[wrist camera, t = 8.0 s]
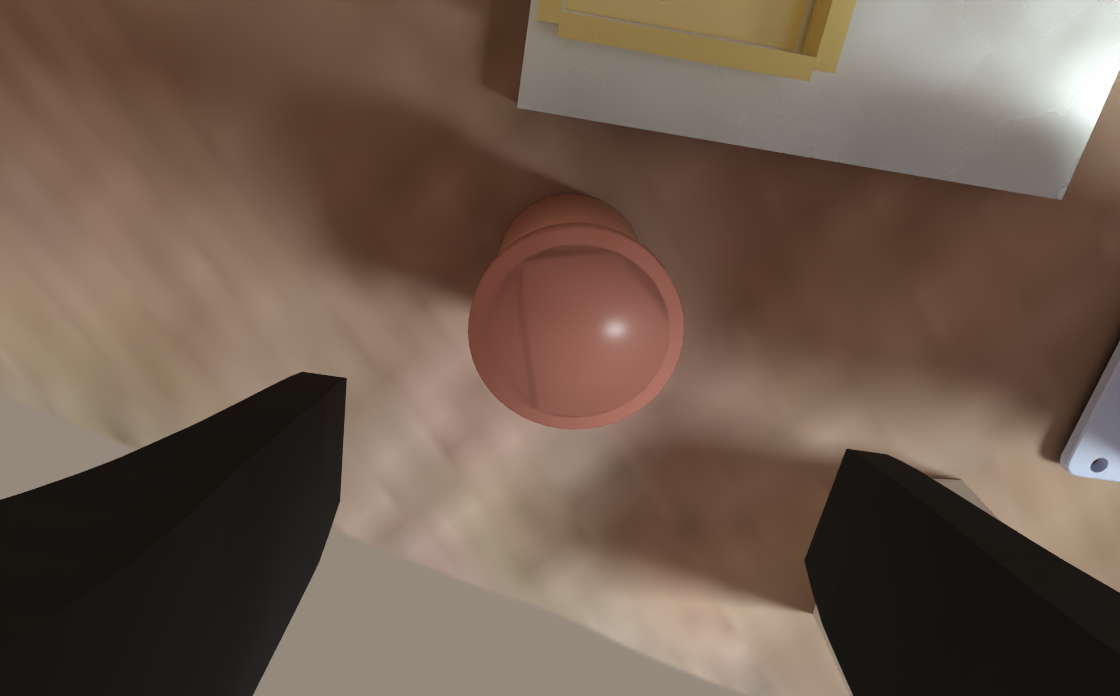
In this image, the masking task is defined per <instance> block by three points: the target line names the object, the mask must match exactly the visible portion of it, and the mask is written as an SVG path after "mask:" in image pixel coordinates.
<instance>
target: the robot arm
mask: <svg viewBox="0 0 1120 696" xmlns="http://www.w3.org/2000/svg"><path fill="white" fill-rule="evenodd" d="M346 381H347V378H342V377H335V376H328V375H321V374H314V373H307V372H300V373H298V374H295V375H293V376H290V377H288V378H286V379H284V380H282V381H280V382H278V383H276V384H274V385H272V386H270V387H268V388H266V389H264V390H262V391H260V392H258V393H256V394H254V395H252V396H250V397H248V398H246V399H245V400H243V401H241V402H239V403H237V404H235V405H233V406H231V407H229V408H227V409H225V410H223V411H221V412H219V413H217V414H215V415H213V416H211V417H209V418H207V419H205V420H203V421H201V422H198V423H196V424H194V425H192V426H190V427H188V428H186V429H183V430H181V431H179V432H177V433H174V434H172V435H170V436H168V437H165V438H163V439H161V440H159V441H156V442H154V443H152V444H150V445H147V446H145V447H143V448H141V449H138V450H136V451H134V452H132V453H129V454H127V455H125V456H123V457H120V458H118V459H115V460H113V461H110V462H108V463H105V464H103V465H100V466H97V467H95V468H92V469H89V470H87V471H84V472H81V473H79V474H76V475H73V476H70V477H67V478H65V479H62V480H59V481H56V482H53V483H50V484H47V485H45V486H42V487H39V488H36V489H33V490H30V491H27V492H24V493H21V494H18V495H15V496H11V497H8V498H5V499H1V500H0V696H253V694H254V692H255V690H256V688H257V686H258V684H259V682H260V680H261V678H262V676H263V674H264V672H265V670H266V668H267V666H268V664H269V661H270V660H271V658H272V656H273V654H274V652H275V650H276V648H277V646H278V644H279V642H280V640H281V638H282V636H283V634H284V632H285V630H286V628H287V626H288V624H289V622H290V620H291V618H292V616H293V614H294V612H295V610H296V608H297V606H298V604H299V602H300V600H301V598H302V596H303V594H304V592H305V590H306V588H307V586H308V584H309V582H310V580H311V578H312V576H313V574H314V572H315V569H316V567H317V565H318V563H319V561H320V558H321V555H322V552H323V549H324V547H325V544H326V541H327V538H328V535H329V532H330V529H331V526H332V523H333V520H334V517H335V514H336V511H337V508H338V505H339V502H340V491H341V472H342V454H343V436H344V418H345V399H346ZM1098 458H1099V459H1098ZM1096 459H1098V460H1097V461H1096V463H1094V464H1092V463H1093V461H1094V460H1096ZM1060 464H1061V466H1062V467H1063V468H1064V469H1065V470H1066V471H1067V472H1069V473H1070V474H1072V475H1074V476H1080V477H1087V478H1094V479H1101V480H1109V481H1116V482H1120V341H1119V343H1118V345H1117V347H1116V349H1115V351H1114V353H1113V355H1112V357H1111V359H1110V361H1109V363H1108V365H1107V367H1106V369H1105V371H1104V372H1103V374H1102V376H1101V378H1100V380H1099V382H1098V384H1097V386H1096V388H1095V390H1094V392H1093V394H1092V396H1091V398H1090V400H1089V402H1088V404H1087V406H1086V408H1085V410H1084V412H1083V413H1082V415H1081V417H1080V419H1079V421H1078V423H1077V425H1076V427H1075V429H1074V431H1073V433H1072V435H1071V437H1070V439H1069V441H1068V443H1067V445H1066V447H1065V449H1064V451H1063V453H1062V454H1061V458H1060ZM1091 464H1092V465H1091ZM804 561H805V565H806V569H807V572H808V576H809V580H810V584H811V588H812V592H813V596H814V599H815V602H816V606H817V609H818V612H819V616H820V619H821V622H822V625H823V627H824V630H825V632H826V635H827V637H828V639H829V642H830V644H831V646H832V649H833V651H834V653H835V656H836V658H837V660H838V663H839V665H840V667H841V669H842V672H843V674H844V676H845V679H846V681H847V683H848V685H849V688H850V690H851V692H852V694H853V696H1120V593H1119V592H1117V591H1116V590H1114V589H1112V588H1110V587H1109V586H1107V585H1105V584H1104V583H1102V582H1100V581H1098V580H1097V579H1095V578H1093V577H1092V576H1090V575H1088V574H1086V573H1085V572H1083V571H1081V570H1079V569H1078V568H1076V567H1074V566H1073V565H1071V564H1069V563H1067V562H1066V561H1064V560H1062V559H1061V558H1059V557H1057V556H1056V555H1054V554H1053V553H1051V552H1049V551H1048V550H1046V549H1044V548H1043V547H1041V546H1039V545H1038V544H1036V543H1034V542H1033V541H1031V540H1030V539H1028V538H1026V537H1025V536H1023V535H1022V534H1020V533H1018V532H1017V531H1015V530H1014V529H1012V528H1010V527H1009V526H1007V525H1006V524H1004V523H1002V522H1001V521H999V520H998V519H996V518H995V517H993V516H991V515H990V514H988V513H987V512H985V511H983V510H982V509H980V508H979V507H977V506H976V505H974V504H972V503H971V502H969V501H968V500H966V499H964V498H963V497H961V496H960V495H958V494H956V493H955V492H953V491H952V490H950V489H949V488H947V487H945V486H944V485H942V484H940V483H939V482H937V481H935V480H934V479H932V478H930V477H929V476H927V475H925V474H924V473H922V472H920V471H918V470H917V469H915V468H913V467H911V466H909V465H908V464H906V463H904V462H902V461H900V460H898V459H896V458H893V457H891V456H889V455H887V454H880V453H873V452H866V451H859V450H852V449H846V452H845V454H844V457H843V460H842V462H841V465H840V468H839V470H838V473H837V476H836V478H835V481H834V484H833V486H832V489H831V491H830V494H829V497H828V499H827V502H826V505H825V507H824V510H823V513H822V515H821V518H820V521H819V523H818V526H817V529H816V531H815V534H814V537H813V539H812V542H811V545H810V547H809V550H808V553H807V555H806V558H805V560H804Z"/></svg>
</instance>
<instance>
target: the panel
mask: <svg viewBox="0 0 1120 696" xmlns="http://www.w3.org/2000/svg"><path fill="white" fill-rule="evenodd" d="M1119 69H1120V0H531V5H530V13H529V20H528V28H527V35H526V43H525V50H524V58H523V65H522V73H521V80H520V88H519V95H518V103H517V108H521V109H526V110H532V111H538V112H544V113H550V114H556V115H562V116H568V117H574V118H579V119H585V120H591V121H597V122H603V123H609V124H615V125H621V126H627V127H633V128H638V129H644V130H650V131H656V132H662V133H668V134H674V135H680V136H686V137H691V138H697V139H703V140H709V141H715V142H721V143H727V144H733V145H739V146H744V147H750V148H756V149H762V150H768V151H774V152H780V153H786V154H792V155H798V156H803V157H809V158H815V159H821V160H827V161H833V162H839V163H845V164H851V165H856V166H862V167H868V168H874V169H880V170H886V171H892V172H898V173H904V174H910V175H915V176H921V177H927V178H933V179H939V180H945V181H951V182H957V183H963V184H968V185H974V186H980V187H986V188H992V189H998V190H1004V191H1010V192H1016V193H1021V194H1027V195H1033V196H1039V197H1045V198H1051V199H1057V200H1062V199H1063V196H1064V194H1065V192H1066V190H1067V187H1068V185H1069V183H1070V181H1071V178H1072V176H1073V174H1074V171H1075V169H1076V167H1077V165H1078V162H1079V160H1080V158H1081V156H1082V153H1083V151H1084V149H1085V146H1086V144H1087V142H1088V140H1089V137H1090V135H1091V133H1092V131H1093V128H1094V126H1095V124H1096V121H1097V119H1098V117H1099V115H1100V112H1101V110H1102V108H1103V106H1104V103H1105V101H1106V99H1107V97H1108V94H1109V92H1110V90H1111V87H1112V85H1113V83H1114V81H1115V78H1116V76H1117V74H1118V72H1119Z"/></svg>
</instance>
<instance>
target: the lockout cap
mask: <svg viewBox="0 0 1120 696" xmlns="http://www.w3.org/2000/svg"><path fill="white" fill-rule="evenodd" d="M468 337H469V347H470V351H471V355H472V359H473V362H474V364H475V367H476V369H477V371H478V373H479V375H480V377H481V379H482V380H483V382H484V383H485V385H486V386H487V387H488V389H489V390H490V391H491V393H492V394H493V395H494V396H495V397H496V398H497V399H498V400H499V401H500V402H501V403H503V404H504V405H505V406H506V407H508V408H509V409H510V410H512V411H513V412H515V413H517V414H518V415H520V416H522V417H524V418H526V419H528V420H531V421H533V422H536V423H539V424H542V425H545V426H550V427H555V428H561V429H588V428H594V427H600V426H604V425H607V424H611V423H614V422H616V421H619V420H621V419H624V418H626V417H627V416H629V415H631V414H633V413H635V412H636V411H638V410H639V409H641V408H642V407H643V406H645V405H646V404H647V403H648V402H649V401H651V400H652V399H653V398H654V397H655V396H656V395H657V394H658V393H659V391H660V390H661V389H662V388H663V387H664V386H665V384H666V383H667V381H668V379H669V378H670V376H671V375H672V373H673V371H674V369H675V367H676V365H677V362H678V359H679V356H680V353H681V349H682V344H683V338H684V320H683V311H682V307H681V303H680V299H679V297H678V294H677V292H676V289H675V287H674V285H673V283H672V281H671V279H670V277H669V275H668V274H667V272H666V270H665V268H664V267H663V265H662V264H661V263H660V262H659V260H658V259H657V258H656V257H655V255H654V254H653V253H651V252H650V251H649V250H648V249H647V248H646V247H645V246H644V245H642V244H641V243H640V242H639V241H638V238H637V236H636V234H635V232H634V230H633V228H632V227H631V225H630V224H629V222H628V221H627V220H626V219H625V217H624V216H623V215H622V214H621V213H620V212H618V211H617V210H616V209H615V208H613V207H612V206H610V205H609V204H607V203H605V202H603V201H601V200H599V199H596V198H593V197H590V196H585V195H579V194H562V195H556V196H551V197H548V198H545V199H542V200H540V201H538V202H536V203H534V204H533V205H531V206H529V207H528V208H526V209H525V210H524V211H523V212H522V213H520V214H519V215H518V216H517V217H516V219H515V220H514V221H513V222H512V223H511V225H510V226H509V228H508V229H507V231H506V233H505V235H504V237H503V240H502V243H501V245H500V249H499V254H498V256H497V257H496V258H495V259H494V260H493V261H492V263H491V264H490V265H489V267H488V268H487V270H486V271H485V273H484V274H483V276H482V278H481V280H480V282H479V284H478V287H477V290H476V293H475V296H474V299H473V302H472V306H471V310H470V316H469V324H468Z"/></svg>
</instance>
